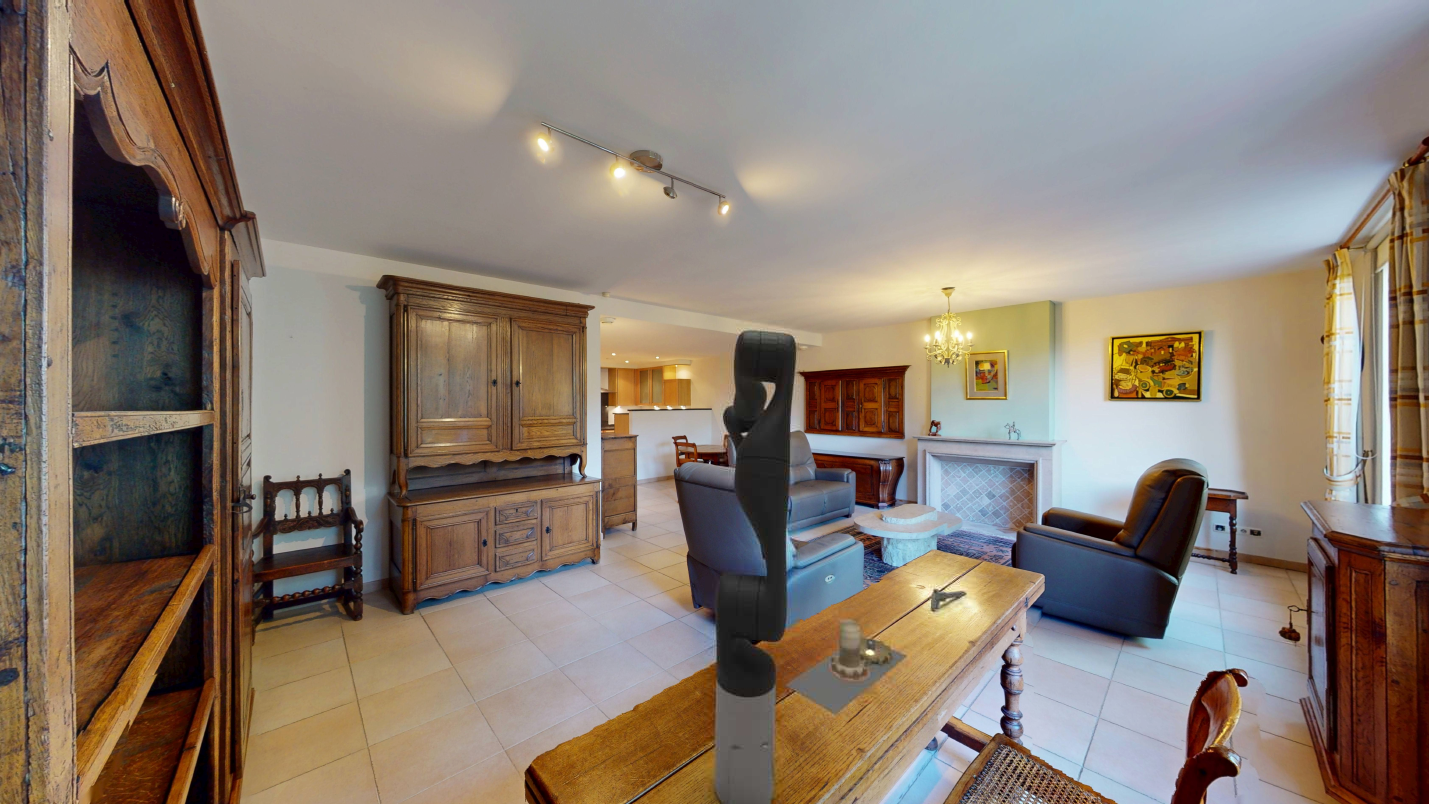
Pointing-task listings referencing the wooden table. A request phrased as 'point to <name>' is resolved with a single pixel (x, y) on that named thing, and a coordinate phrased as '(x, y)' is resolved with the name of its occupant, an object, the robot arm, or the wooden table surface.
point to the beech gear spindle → (849, 652)
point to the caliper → (943, 597)
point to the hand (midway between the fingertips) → (769, 557)
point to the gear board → (838, 683)
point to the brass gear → (874, 651)
